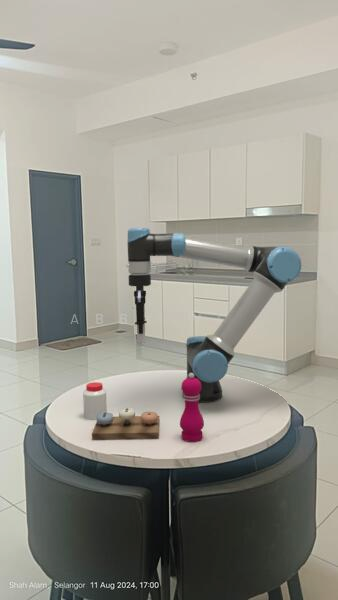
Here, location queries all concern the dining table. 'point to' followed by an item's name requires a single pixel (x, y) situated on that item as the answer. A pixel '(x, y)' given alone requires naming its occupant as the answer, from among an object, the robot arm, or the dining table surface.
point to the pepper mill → (191, 410)
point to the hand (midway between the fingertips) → (141, 342)
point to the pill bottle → (94, 400)
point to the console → (126, 430)
